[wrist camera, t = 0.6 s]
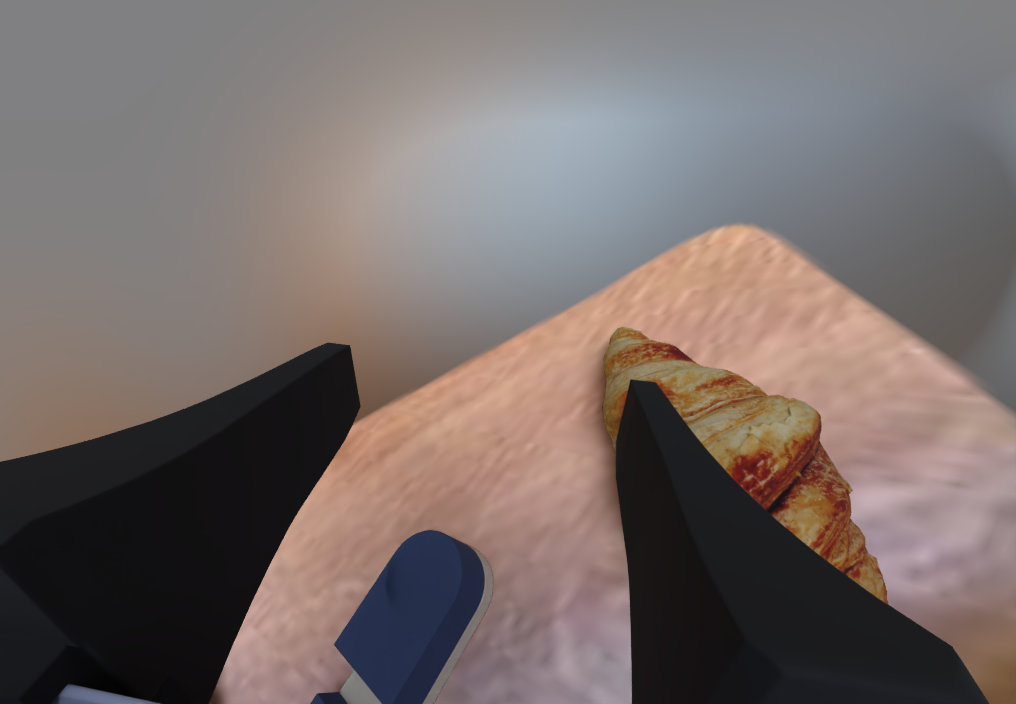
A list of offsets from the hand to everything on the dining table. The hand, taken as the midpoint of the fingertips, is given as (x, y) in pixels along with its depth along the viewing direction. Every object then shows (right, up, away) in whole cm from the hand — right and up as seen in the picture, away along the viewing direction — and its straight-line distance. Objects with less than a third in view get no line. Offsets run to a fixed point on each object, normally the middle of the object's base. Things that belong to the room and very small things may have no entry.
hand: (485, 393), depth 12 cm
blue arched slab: (-4, -15, +14) cm, 21 cm away
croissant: (+12, -6, +13) cm, 19 cm away
